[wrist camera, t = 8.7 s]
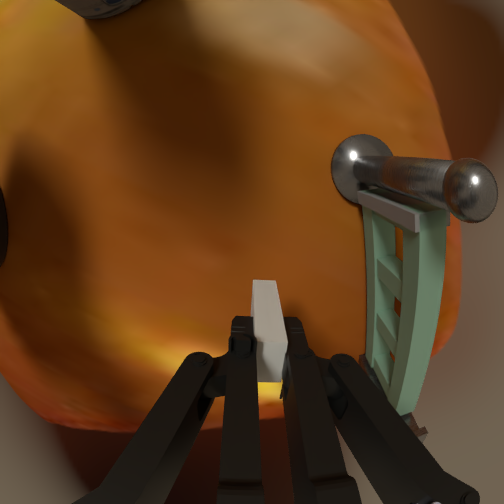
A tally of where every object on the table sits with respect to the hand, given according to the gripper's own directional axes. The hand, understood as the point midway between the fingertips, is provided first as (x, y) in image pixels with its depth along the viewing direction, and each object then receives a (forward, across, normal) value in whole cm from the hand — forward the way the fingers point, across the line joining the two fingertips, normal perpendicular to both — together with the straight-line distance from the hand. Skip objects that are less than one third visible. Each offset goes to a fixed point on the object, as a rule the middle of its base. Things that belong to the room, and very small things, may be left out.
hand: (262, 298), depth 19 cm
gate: (+5, +11, -1) cm, 12 cm away
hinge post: (+6, +8, +9) cm, 14 cm away
